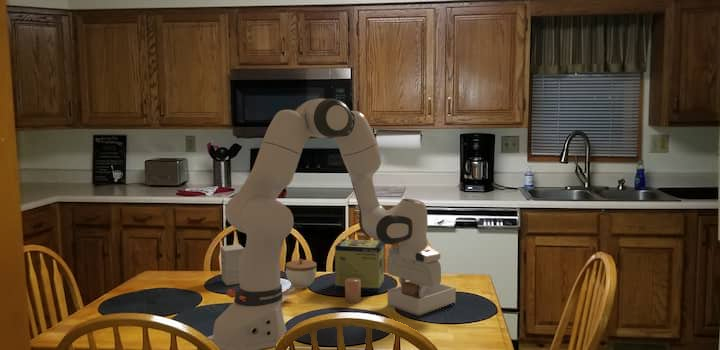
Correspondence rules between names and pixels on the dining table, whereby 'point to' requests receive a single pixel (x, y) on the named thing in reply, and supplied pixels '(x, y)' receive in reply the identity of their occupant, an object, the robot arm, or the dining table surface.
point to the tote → (422, 299)
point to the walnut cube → (410, 289)
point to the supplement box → (231, 263)
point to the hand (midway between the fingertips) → (412, 294)
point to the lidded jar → (301, 272)
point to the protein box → (360, 263)
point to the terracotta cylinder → (352, 290)
